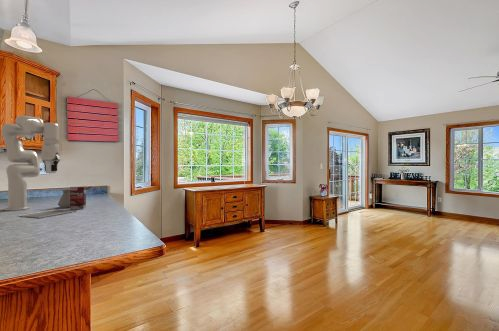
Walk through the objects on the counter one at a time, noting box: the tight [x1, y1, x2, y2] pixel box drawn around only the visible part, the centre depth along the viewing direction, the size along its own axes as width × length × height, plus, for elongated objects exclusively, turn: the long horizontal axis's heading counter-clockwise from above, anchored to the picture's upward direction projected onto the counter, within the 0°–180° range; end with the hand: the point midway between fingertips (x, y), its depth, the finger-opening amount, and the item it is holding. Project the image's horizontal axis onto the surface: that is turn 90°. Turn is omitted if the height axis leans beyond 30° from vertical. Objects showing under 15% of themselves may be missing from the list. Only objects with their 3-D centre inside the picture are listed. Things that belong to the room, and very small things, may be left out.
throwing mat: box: [17, 209, 77, 219], centre depth 155 cm, size 18×22×1 cm
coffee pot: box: [57, 186, 93, 209], centre depth 184 cm, size 21×12×15 cm, turn 123°
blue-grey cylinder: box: [45, 160, 57, 174], centre depth 154 cm, size 5×5×8 cm
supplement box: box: [69, 186, 87, 211], centre depth 174 cm, size 9×5×16 cm, turn 105°
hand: (50, 170), depth 154 cm, fingers closed on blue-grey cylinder, 4 cm apart
